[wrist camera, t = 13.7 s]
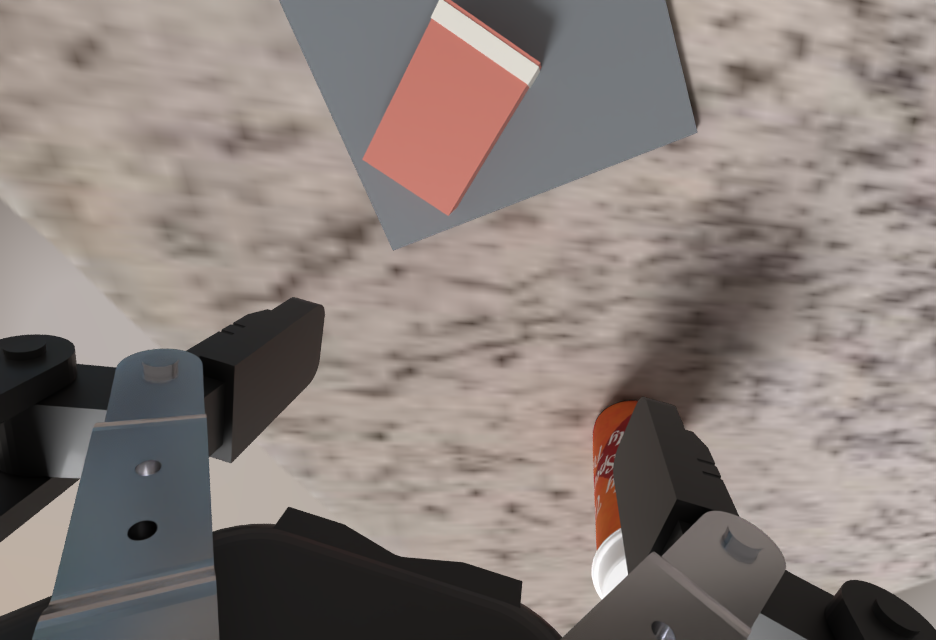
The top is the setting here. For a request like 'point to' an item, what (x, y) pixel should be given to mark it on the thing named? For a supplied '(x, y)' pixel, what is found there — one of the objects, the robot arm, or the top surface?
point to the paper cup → (608, 498)
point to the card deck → (450, 107)
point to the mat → (539, 113)
